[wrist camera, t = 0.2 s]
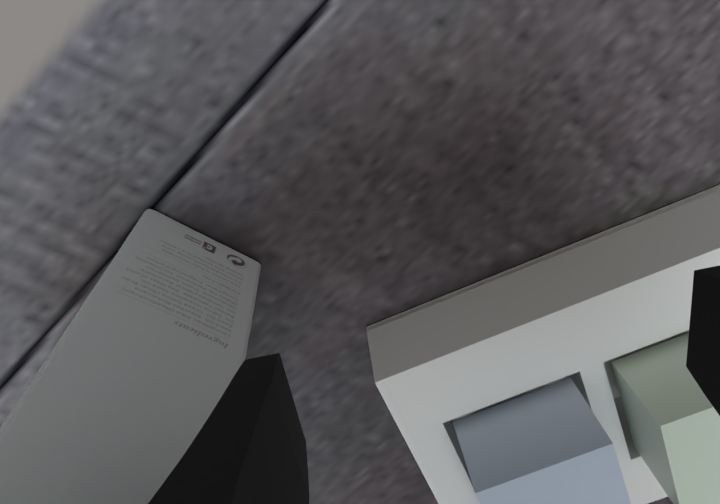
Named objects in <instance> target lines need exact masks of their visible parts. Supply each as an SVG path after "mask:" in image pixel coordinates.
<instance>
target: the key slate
mask: <svg viewBox="0 0 720 504" xmlns="http://www.w3.org/2000/svg"><path fill="white" fill-rule="evenodd" d="M453 425H454V428H455V431H456V435H457V438H458V441H459V444H460V447H461V450H462V453H463V456H464V460H465V463H466V466H467V469H468V472H469V475H470V478H471V481H472V484H473V488H474V491H475V494H476V496H477V498H478V500H479V502H480V504H631V502H630V499H629V495H628V492H627V489H626V485H625V482H624V479H623V475H622V472H621V469H620V465H619V462H618V459H617V455H616V452H615V449H614V445H613V443H612V441H611V440H610V438H609V436H608V435H607V433H606V432H605V430H604V429H603V427H602V426H601V424H600V422H599V421H598V419H597V418H596V416H595V415H594V413H593V412H592V410H591V408H590V407H589V405H588V404H587V402H586V401H585V399H584V397H583V396H582V394H581V393H580V391H579V390H578V388H577V387H576V385H575V383H574V382H573V380H572V379H571V377H570V378H568V379H565V380H562V381H560V382H557V383H555V384H552V385H549V386H547V387H544V388H541V389H539V390H536V391H533V392H531V393H528V394H525V395H523V396H520V397H518V398H515V399H512V400H510V401H507V402H504V403H502V404H499V405H496V406H494V407H491V408H488V409H486V410H483V411H480V412H478V413H475V414H473V415H470V416H467V417H465V418H462V419H459V420H457V421H454V422H453Z"/></svg>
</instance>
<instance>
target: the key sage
mask: <svg viewBox="0 0 720 504" xmlns="http://www.w3.org/2000/svg"><path fill="white" fill-rule="evenodd" d="M688 337H689V333H687V334H684V335H682V336H679V337H676V338H674V339H671V340H668V341H666V342H663V343H660V344H658V345H655V346H652V347H650V348H647V349H644V350H642V351H639V352H637V353H634V354H631V355H629V356H626V357H623V358H621V359H618V360H615V361H613V362H611V363H612V367H613V370H614V374H615V378H616V381H617V385H618V389H619V392H620V396H621V399H622V403H623V407H624V410H625V414H626V418H627V421H628V425H629V428H630V432H631V436H632V439H633V443H634V447H635V448H636V450H637V451H638V453H639V454H640V456H641V457H642V459H643V460H644V462H645V463H646V465H647V466H648V468H649V469H650V470H651V472H652V473H653V475H654V476H655V478H656V479H657V481H658V482H659V484H660V485H661V487H662V488H663V490H664V491H665V492H666V494H667V495H668V497H669V498H670V500H671V501H672V503H673V504H720V416H719V414H718V413H717V411H716V410H715V409H714V407H713V406H712V404H711V403H710V401H709V400H708V399H707V397H706V396H705V394H704V393H703V392H702V390H701V388H700V387H699V385H698V384H697V382H696V381H695V379H694V378H693V376H692V375H691V373H690V372H689V370H688V369H687V367H686V361H687V349H688Z"/></svg>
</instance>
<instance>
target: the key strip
mask: <svg viewBox="0 0 720 504" xmlns="http://www.w3.org/2000/svg"><path fill="white" fill-rule="evenodd" d="M719 265H720V185H717V186H715V187H712V188H710V189H707V190H705V191H702V192H700V193H697V194H695V195H692V196H690V197H687V198H685V199H682V200H680V201H678V202H675V203H673V204H670V205H668V206H665V207H663V208H660V209H658V210H655V211H653V212H650V213H648V214H645V215H643V216H640V217H638V218H635V219H633V220H630V221H628V222H625V223H623V224H620V225H618V226H615V227H613V228H610V229H608V230H605V231H603V232H600V233H598V234H596V235H593V236H591V237H588V238H586V239H583V240H581V241H578V242H576V243H573V244H571V245H568V246H566V247H563V248H561V249H558V250H556V251H553V252H551V253H548V254H546V255H543V256H541V257H538V258H536V259H533V260H531V261H528V262H526V263H523V264H521V265H519V266H516V267H514V268H511V269H509V270H506V271H504V272H501V273H499V274H496V275H494V276H491V277H489V278H486V279H484V280H481V281H479V282H476V283H474V284H471V285H469V286H466V287H464V288H461V289H459V290H456V291H454V292H451V293H449V294H446V295H444V296H442V297H439V298H437V299H434V300H432V301H429V302H427V303H424V304H422V305H419V306H417V307H414V308H412V309H409V310H407V311H404V312H402V313H399V314H397V315H394V316H392V317H389V318H387V319H384V320H382V321H379V322H377V323H374V324H372V325H369V326H367V327H366V332H367V338H368V344H369V350H370V357H371V363H372V369H373V375H374V381H375V384H376V386H377V388H378V390H379V392H380V393H381V395H382V397H383V399H384V401H385V403H386V405H387V407H388V409H389V411H390V412H391V414H392V416H393V418H394V420H395V422H396V424H397V426H398V428H399V430H400V431H401V433H402V435H403V437H404V439H405V441H406V443H407V445H408V447H409V449H410V450H411V452H412V454H413V456H414V458H415V460H416V462H417V464H418V466H419V468H420V469H421V471H422V473H423V475H424V477H425V479H426V481H427V483H428V485H429V487H430V488H431V490H432V492H433V494H434V496H435V498H436V500H437V502H438V504H480V502H479V500H478V498H477V496H476V494H475V491H474V488H473V484H472V481H471V478H470V475H469V472H468V469H467V466H466V463H465V460H464V456H463V453H462V450H461V447H460V444H459V441H458V438H457V435H456V431H455V428H454V425H453V422H454V421H457V420H459V419H462V418H465V417H467V416H470V415H473V414H475V413H478V412H480V411H483V410H486V409H488V408H491V407H494V406H496V405H499V404H502V403H504V402H507V401H510V400H512V399H515V398H518V397H520V396H523V395H525V394H528V393H531V392H533V391H536V390H539V389H541V388H544V387H547V386H549V385H552V384H555V383H557V382H560V381H562V380H565V379H568V378H570V377H571V379H572V380H573V382H574V383H575V385H576V387H577V388H578V390H579V391H580V393H581V394H582V396H583V397H584V399H585V401H586V402H587V404H588V405H589V407H590V408H591V410H592V412H593V413H594V415H595V416H596V418H597V419H598V421H599V422H600V424H601V426H602V427H603V429H604V430H605V432H606V433H607V435H608V436H609V438H610V440H611V441H612V443H613V445H614V449H615V452H616V455H617V459H618V462H619V465H620V469H621V472H622V475H623V479H624V482H625V485H626V489H627V492H628V495H629V499H630V502H631V504H648V503H651V502H653V501H656V500H659V499H662V498H665V497H668V495H667V494H666V492H665V491H664V490H663V488H662V487H661V485H660V484H659V482H658V481H657V479H656V478H655V476H654V475H653V473H652V472H651V470H650V469H649V468H648V466H647V465H646V463H645V462H644V460H643V459H642V457H641V456H640V454H639V453H638V451H637V450H636V448H635V447H634V443H633V439H632V436H631V432H630V428H629V425H628V421H627V418H626V414H625V410H624V407H623V403H622V399H621V396H620V392H619V389H618V385H617V381H616V378H615V374H614V370H613V367H612V363H611V362H613V361H615V360H618V359H621V358H623V357H626V356H629V355H631V354H634V353H637V352H639V351H642V350H644V349H647V348H650V347H652V346H655V345H658V344H660V343H663V342H666V341H668V340H671V339H674V338H676V337H679V336H682V335H684V334H687V333H689V325H690V313H691V301H692V289H693V277H694V270H699V269H704V268H709V267H714V266H719Z"/></svg>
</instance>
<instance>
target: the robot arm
mask: <svg viewBox="0 0 720 504" xmlns="http://www.w3.org/2000/svg"><path fill="white" fill-rule="evenodd" d="M686 367H687V369H688V370H689V372H690V373H691V375H692V376H693V378H694V379H695V381H696V382H697V384H698V385H699V387H700V388H701V390H702V392H703V393H704V394H705V396H706V397H707V399H708V400H709V401H710V403H711V404H712V406H713V407H714V409H715V410H716V411H717V413H718V414H719V416H720V265H719V266H714V267H709V268H704V269H699V270H694V277H693V289H692V301H691V313H690V325H689V337H688V349H687V361H686ZM148 504H309V483H308V466H307V451H306V441H305V437H304V434H303V431H302V427H301V424H300V421H299V417H298V414H297V411H296V407H295V404H294V401H293V397H292V394H291V390H290V387H289V384H288V380H287V377H286V374H285V370H284V367H283V364H282V360H281V357H280V354H279V353H278V354H273V355H268V356H263V357H258V358H253V359H248V360H244V362H243V363H242V365H241V366H240V367H239V369H238V371H237V372H236V374H235V375H234V377H233V379H232V380H231V382H230V384H229V385H228V387H227V388H226V390H225V392H224V393H223V395H222V397H221V398H220V400H219V401H218V403H217V405H216V406H215V408H214V409H213V411H212V413H211V414H210V416H209V417H208V419H207V420H206V422H205V423H204V425H203V426H202V428H201V430H200V431H199V433H198V434H197V436H196V437H195V439H194V440H193V442H192V443H191V445H190V446H189V448H188V449H187V451H186V452H185V454H184V455H183V456H182V458H181V459H180V461H179V462H178V464H177V465H176V466H175V468H174V469H173V470H172V472H171V473H170V474H169V476H168V477H167V479H166V480H165V481H164V483H163V484H162V485H161V487H160V488H159V489H158V491H157V492H156V493H155V495H154V496H153V498H152V499H151V500H150V502H149V503H148Z"/></svg>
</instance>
